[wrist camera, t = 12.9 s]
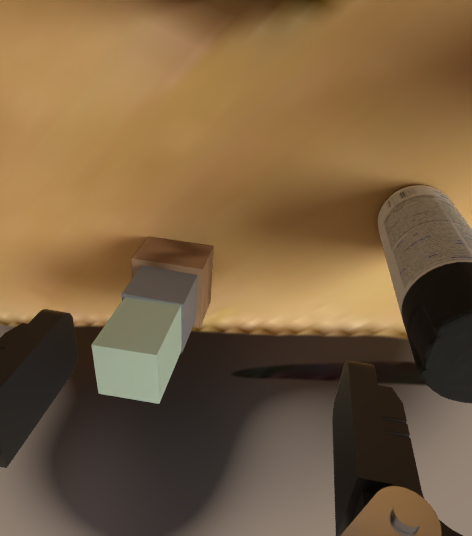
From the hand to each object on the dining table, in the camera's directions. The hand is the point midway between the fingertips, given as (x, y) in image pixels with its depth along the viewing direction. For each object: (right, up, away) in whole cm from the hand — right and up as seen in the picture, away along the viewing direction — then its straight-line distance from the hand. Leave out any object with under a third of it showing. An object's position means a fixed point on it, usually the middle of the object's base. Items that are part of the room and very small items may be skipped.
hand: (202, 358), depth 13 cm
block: (-6, -2, +26) cm, 27 cm away
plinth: (-5, +2, +35) cm, 35 cm away
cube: (-6, 0, +31) cm, 31 cm away
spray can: (+17, +7, +28) cm, 34 cm away
